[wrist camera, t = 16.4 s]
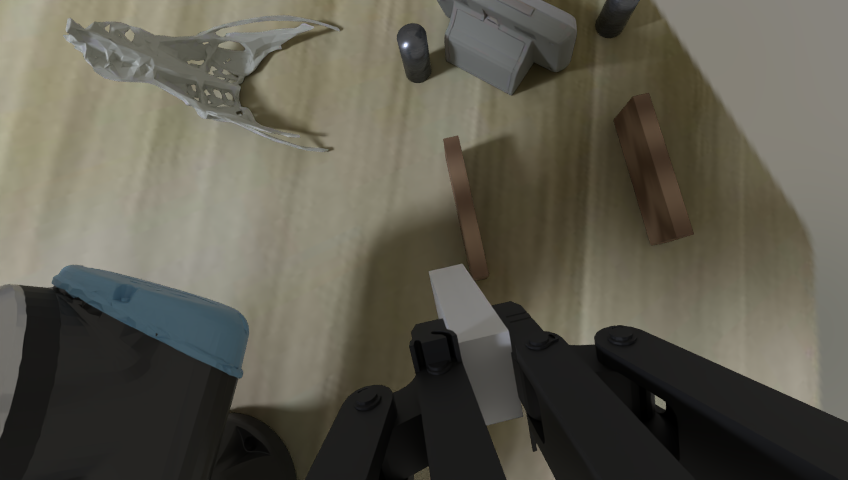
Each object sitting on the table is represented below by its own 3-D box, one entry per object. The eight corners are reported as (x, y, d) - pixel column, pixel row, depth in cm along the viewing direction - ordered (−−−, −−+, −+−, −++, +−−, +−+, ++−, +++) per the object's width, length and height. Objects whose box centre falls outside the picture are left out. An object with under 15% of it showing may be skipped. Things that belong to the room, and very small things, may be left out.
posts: (626, 34, 44) (651, -8, 38) (408, 85, 46) (399, 53, 40) (619, 10, 45) (642, -34, 39) (403, 62, 46) (394, 27, 40)
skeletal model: (335, 154, 45) (33, 81, 31) (306, 173, 53) (50, 122, 38) (342, 26, 48) (62, -100, 33) (312, 61, 55) (73, -29, 40)
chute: (665, 242, 40) (694, 234, 35) (472, 281, 41) (473, 278, 37) (627, 116, 43) (648, 92, 38) (445, 157, 44) (443, 138, 39)
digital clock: (576, 67, 44) (611, -6, 34) (520, 124, 44) (537, 68, 33) (470, -15, 47) (472, -106, 37) (417, 37, 47) (403, -40, 36)
